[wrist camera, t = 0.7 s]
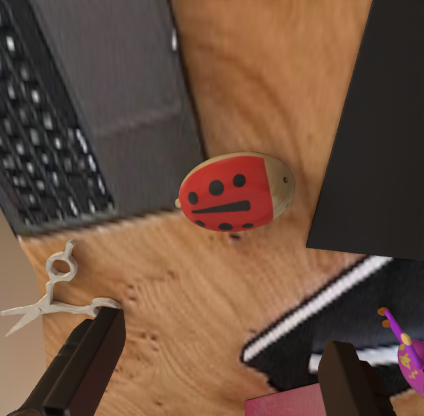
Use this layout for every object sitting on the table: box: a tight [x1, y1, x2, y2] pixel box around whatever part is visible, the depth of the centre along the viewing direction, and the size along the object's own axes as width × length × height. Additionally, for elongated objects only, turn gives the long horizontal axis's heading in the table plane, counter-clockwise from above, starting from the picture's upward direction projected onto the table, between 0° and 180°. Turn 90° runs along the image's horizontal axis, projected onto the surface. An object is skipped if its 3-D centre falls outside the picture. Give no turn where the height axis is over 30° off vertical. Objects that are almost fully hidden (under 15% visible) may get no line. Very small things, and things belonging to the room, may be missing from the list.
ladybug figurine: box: [175, 152, 296, 232], centre depth 22 cm, size 7×10×4 cm
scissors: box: [0, 239, 121, 337], centre depth 32 cm, size 11×1×20 cm
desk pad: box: [306, 0, 424, 261], centre depth 20 cm, size 20×12×1 cm, turn 176°
